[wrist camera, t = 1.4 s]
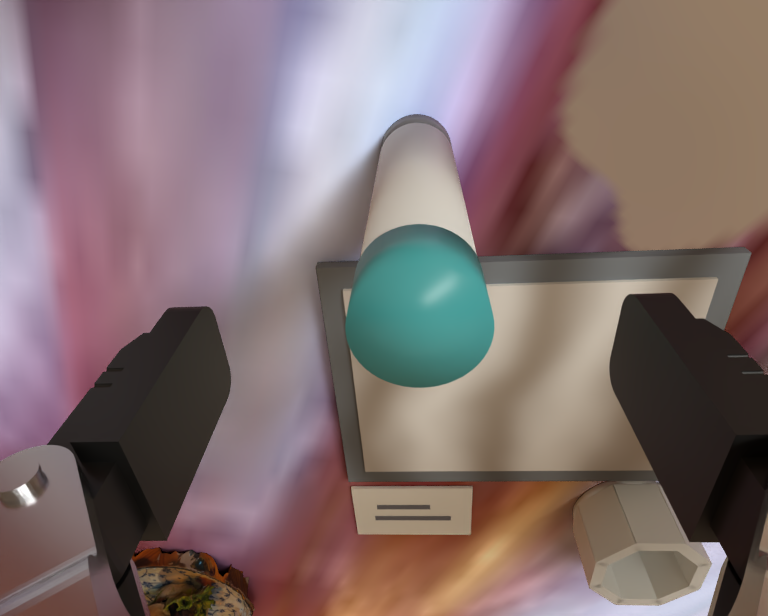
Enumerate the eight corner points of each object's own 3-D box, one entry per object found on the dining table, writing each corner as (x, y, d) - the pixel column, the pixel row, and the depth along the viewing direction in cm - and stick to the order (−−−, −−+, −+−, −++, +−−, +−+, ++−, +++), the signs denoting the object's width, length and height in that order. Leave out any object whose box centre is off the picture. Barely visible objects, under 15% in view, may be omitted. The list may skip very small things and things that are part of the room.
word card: (351, 486, 34) (351, 489, 34) (472, 485, 34) (472, 489, 33) (358, 531, 37) (357, 534, 37) (470, 532, 36) (470, 535, 36)
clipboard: (744, 247, 24) (759, 259, 23) (666, 472, 32) (674, 488, 31) (317, 262, 25) (313, 274, 24) (349, 474, 34) (347, 489, 33)
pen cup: (685, 477, 32) (721, 543, 28) (662, 539, 36) (691, 606, 32) (579, 478, 33) (601, 543, 29) (566, 539, 36) (584, 604, 32)
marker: (452, 111, 21) (498, 262, 10) (452, 183, 23) (490, 386, 11) (377, 115, 21) (337, 268, 10) (382, 187, 23) (352, 388, 12)
